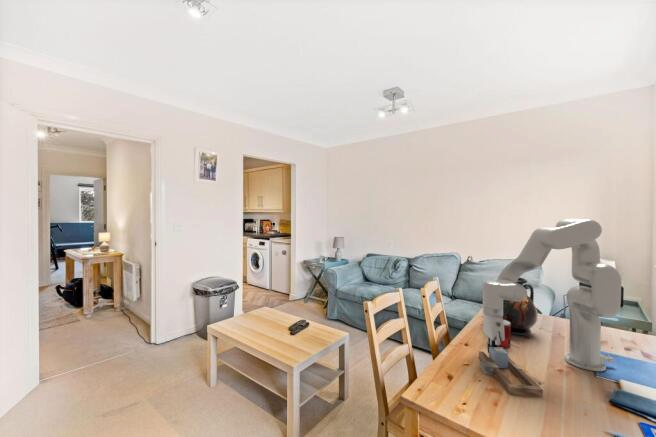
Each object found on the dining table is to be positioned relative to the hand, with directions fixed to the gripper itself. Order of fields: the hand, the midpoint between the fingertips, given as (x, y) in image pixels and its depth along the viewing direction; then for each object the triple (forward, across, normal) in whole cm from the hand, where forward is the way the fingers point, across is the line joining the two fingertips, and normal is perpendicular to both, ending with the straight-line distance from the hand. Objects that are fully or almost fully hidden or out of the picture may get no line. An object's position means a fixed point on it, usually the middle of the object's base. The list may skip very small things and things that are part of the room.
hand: (492, 353), depth 119 cm
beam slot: (+2, -12, +2) cm, 12 cm away
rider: (+2, -5, 0) cm, 6 cm away
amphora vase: (+2, +33, -24) cm, 41 cm away
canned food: (+2, +15, -10) cm, 18 cm away
